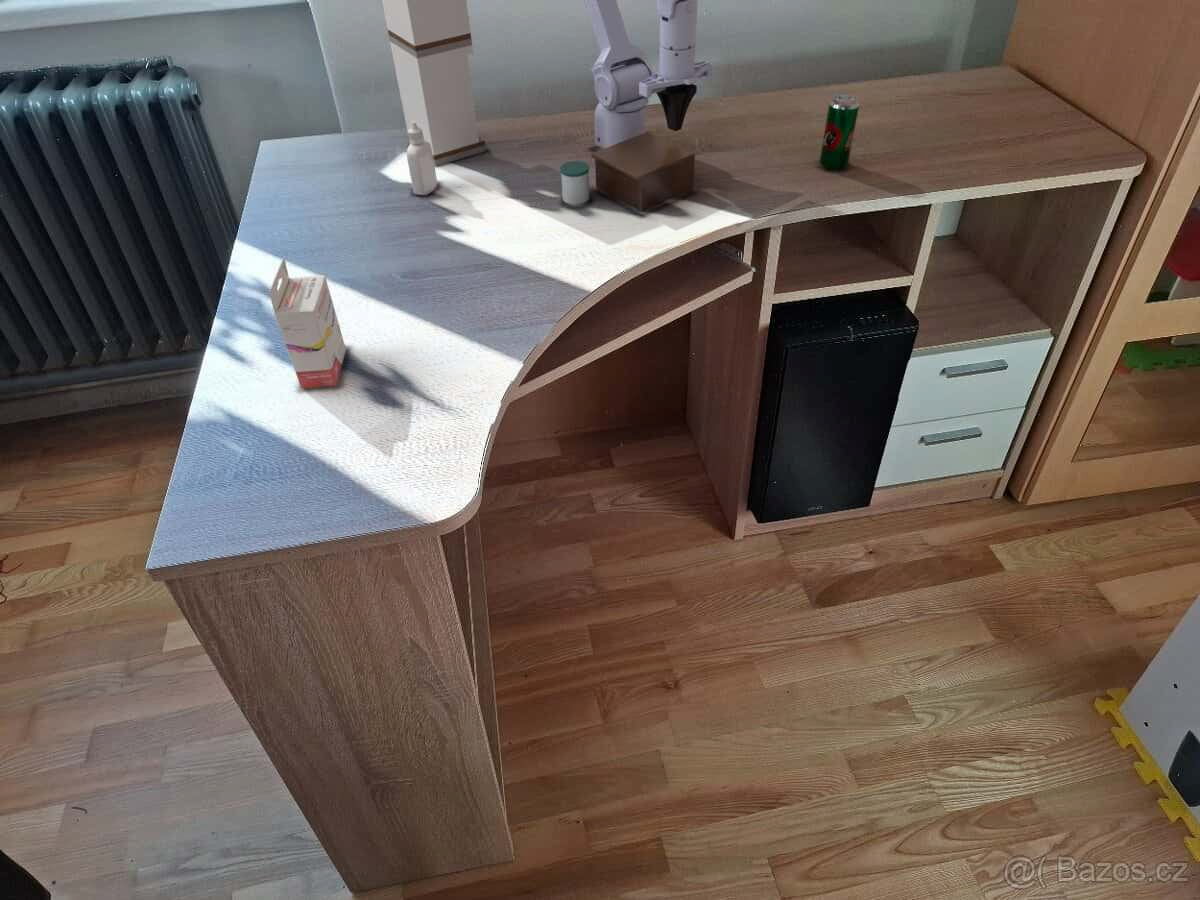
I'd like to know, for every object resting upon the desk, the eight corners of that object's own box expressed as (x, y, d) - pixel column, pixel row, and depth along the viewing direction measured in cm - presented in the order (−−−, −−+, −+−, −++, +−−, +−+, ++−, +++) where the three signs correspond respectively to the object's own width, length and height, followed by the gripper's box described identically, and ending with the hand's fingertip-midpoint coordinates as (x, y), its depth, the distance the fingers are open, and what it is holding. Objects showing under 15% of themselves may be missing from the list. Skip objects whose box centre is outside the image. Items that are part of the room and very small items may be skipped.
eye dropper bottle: (445, 187, 146) (434, 120, 138) (420, 198, 143) (406, 130, 135) (431, 179, 148) (419, 113, 140) (405, 190, 145) (392, 123, 137)
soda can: (847, 172, 146) (860, 104, 137) (818, 170, 146) (830, 103, 138) (847, 160, 149) (860, 93, 141) (819, 158, 150) (830, 91, 142)
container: (556, 201, 141) (554, 166, 137) (578, 192, 143) (576, 158, 139) (573, 211, 138) (572, 176, 134) (595, 202, 140) (594, 167, 136)
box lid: (637, 180, 131) (637, 177, 131) (591, 156, 138) (590, 153, 138) (694, 156, 137) (695, 153, 137) (647, 135, 144) (647, 131, 143)
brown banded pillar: (485, 151, 156) (458, -59, 132) (435, 166, 152) (398, -48, 128) (458, 131, 163) (428, -72, 139) (410, 145, 159) (370, -61, 135)
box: (641, 216, 136) (641, 179, 132) (595, 191, 143) (594, 155, 139) (692, 193, 142) (694, 157, 137) (646, 170, 148) (647, 135, 144)
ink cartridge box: (339, 387, 106) (307, 290, 96) (300, 389, 106) (264, 293, 96) (348, 347, 112) (319, 252, 102) (311, 350, 112) (279, 255, 102)
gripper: (660, 61, 125) (658, 148, 134) (727, 39, 131) (721, 123, 140) (630, 50, 129) (630, 134, 138) (697, 29, 135) (693, 111, 144)
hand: (674, 128), depth 140 cm, fingers closed
